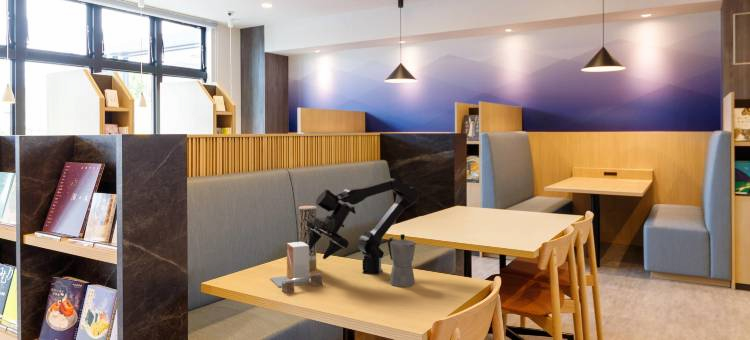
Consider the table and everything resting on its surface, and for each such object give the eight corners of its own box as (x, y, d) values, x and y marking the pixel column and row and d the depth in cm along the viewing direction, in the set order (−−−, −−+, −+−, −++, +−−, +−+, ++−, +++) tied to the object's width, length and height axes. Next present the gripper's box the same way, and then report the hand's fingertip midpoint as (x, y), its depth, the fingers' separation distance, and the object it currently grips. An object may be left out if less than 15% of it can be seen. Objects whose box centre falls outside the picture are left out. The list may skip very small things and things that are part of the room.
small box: (286, 277, 202) (286, 242, 201) (303, 275, 204) (302, 241, 203) (293, 282, 194) (292, 246, 193) (309, 280, 197) (309, 245, 196)
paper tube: (297, 267, 217) (296, 206, 215) (313, 266, 220) (312, 205, 218) (302, 271, 211) (301, 208, 209) (318, 270, 214) (318, 207, 212)
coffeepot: (423, 285, 192) (424, 235, 191) (402, 290, 187) (403, 238, 186) (398, 276, 205) (398, 229, 204) (377, 279, 200) (378, 231, 199)
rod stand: (317, 283, 195) (317, 273, 195) (322, 284, 193) (322, 275, 193) (282, 291, 185) (281, 281, 185) (286, 293, 183) (286, 283, 183)
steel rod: (320, 275, 195) (320, 272, 195) (321, 275, 194) (321, 273, 194) (282, 283, 184) (282, 281, 184) (283, 284, 183) (283, 281, 183)
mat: (301, 275, 206) (301, 274, 206) (311, 283, 195) (311, 282, 195) (270, 278, 201) (270, 277, 201) (278, 287, 190) (278, 286, 190)
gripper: (309, 201, 204) (287, 237, 201) (341, 217, 191) (318, 255, 189) (326, 213, 212) (305, 247, 209) (358, 229, 199) (336, 266, 197)
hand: (315, 254), depth 201 cm, fingers open, 9 cm apart
